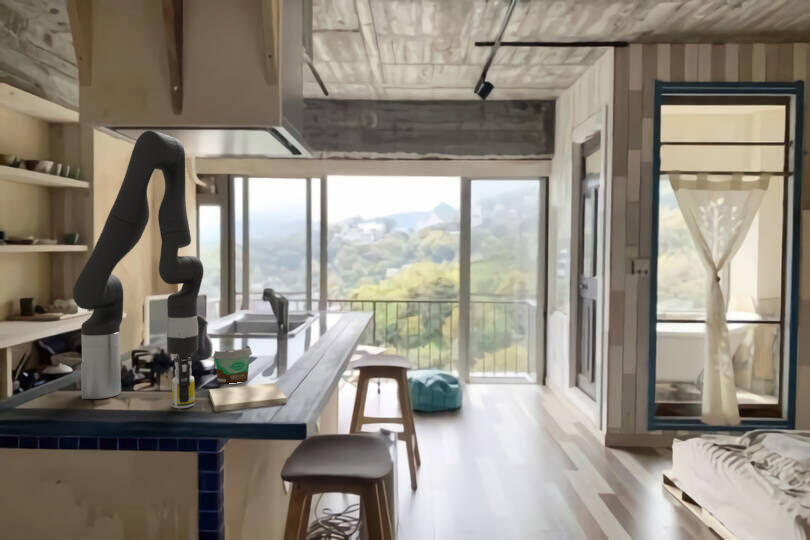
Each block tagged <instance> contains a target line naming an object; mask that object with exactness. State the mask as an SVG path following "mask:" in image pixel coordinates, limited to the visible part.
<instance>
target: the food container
mask: <svg viewBox="0 0 810 540" xmlns="http://www.w3.org/2000/svg"><path fill="white" fill-rule="evenodd" d="M252 354H253V352H252V348H251V346H249V345H247V344H246V345H245V348H240V349H229V350H227V351H217V350H215V351H214V353H213V359H215V369H216V376H217V378H216V379H217V384H218V383H221V384H220V385H224V384H229V383H237V382H244V383H246V382H247V381H248V378H249V366H250V356H252Z"/></svg>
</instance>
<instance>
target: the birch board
mask: <svg viewBox="0 0 810 540" xmlns="http://www.w3.org/2000/svg"><path fill="white" fill-rule="evenodd" d="M208 392H210V395H209V398H210V401H211V404H212V406H213V409H214V412H219V411H220V412H221V411H232V410H240V409H241V410H242V409H247V408H248V409H249V408H257V407H265V406H266V407H267V406H275V405H274V404H276V405H281V404H280V403H285V404H287V402H288V400H287V396H286V395H285V394H284V393H283V392H282V391H281V389H280V387H278V385H277V384H276V383H275V382H272V383H271V382H270V383H262V384H261V383H259V384H250V385H243V386H242V385H240V386H229V387H221V388H211V389H208Z"/></svg>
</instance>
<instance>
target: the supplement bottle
mask: <svg viewBox="0 0 810 540" xmlns="http://www.w3.org/2000/svg"><path fill="white" fill-rule="evenodd" d="M174 375H175V376H173V378H172V380H171V394H172V395H171V397H172V398H171V401H172V403H171V405H172V408H175V409H186V408H191V407H194V405H195V401H196V400H195V399H196V398H195V377H194V376H193V375H191V377H190V386H189V401H188V402H180V400H179V386H178V384H179V379H177V377H176V368H175V369H174ZM181 382H187V378H182V379H181Z"/></svg>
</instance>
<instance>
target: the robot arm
mask: <svg viewBox="0 0 810 540" xmlns="http://www.w3.org/2000/svg"><path fill="white" fill-rule="evenodd" d="M155 170H159V171H161V172H162V175H163V179H164V186H165V187H164V193H163V196H162V200H161V202H160V205H159V209H158V214H157V215H158V217H157V219H158V226H159V231H160V238H161V245H160V256H159V257H160V258H159V263H158V273H159V276H160V278H161V280H162V281H163V282H164V283H165V284H167V285H182V286H181V288H180V290H179V291H177V292H174V293H172V294H169V296H167V304H166V306H167V320H166V321H167V322H166V352H167V353H168V354H169V355H176V358H174V367H175V369H176V375H175V377H177V379H179V384H178V386H179V400H180V402H188V401H189V386H190V377H191V376H192V365H193V364H192V357H189V355H190V354H195V353H197V352H198V351H199V321H198V309H197V308H198V303H197V302H198V296H199V293H200V289H201V285H202V282H203V278H204V266H203V263H202V261H201V260H200V259H199V257H197V256H193V255H183V256H181V255H178V252H179V249H182V248H186V247H189V245H191V242H192V237H191V230H190V225H189V219H188V213H187V204H186V152H185V148H184V145H183V143H182V142H181V141H180V139H178V138H175V137H174V136H171V135H168V134H164V133H161V132H158V131H155V130H146V131H144V132H142V133H141V134H140V135H139V137H138V138H137V139H136V142H135V144H134V147H133V149H132V151H131V155H130V158H129V162H128V165H127V168H126V172H125V174H124V178H123V180H122V183H121V185H120V188H119V191H118V193H117V196H116V198H115V200H114V203H113V205H112V207H111V209H110V210H109V213H108V215H107V217H106V220H105V222H104V225H103V228H102V231H101V233H100V235H99V236H98V240H97V242H96V244H95V245H94V248H93V251H92V252H91V254H90V257H89V258H88V260H87V262H86V263H85V266H84V267H83V269H82V270H81V272H80V274H79V275H78V277H77V278H76V281H75V283H74V285H73V288H72V289H73V291H72V298H73V301H74V303H75V305H76V306H77V307H78V308H79V309H83V310H93V311H92V314H91V315H90V317H88V319H87V320H85V321H83V322H82V324H81V327H80V328H81V332H80V333H81V364H80V369H81V370H80V373H81V374H80V377H81V378H80V379H81V382H80V383H81V384H80V385H81V399H82V400H84V399H85V400H86V399H87V400H88V399H90V400H94V399H95V400H97V399H100V400H101V399H108V398H113V397H115V396H118V395H120V394H121V393H122V382H121V381H122V380H121V379H122V377H121V373H122V371H121V334H120V333H121V332H120V328H121V324H122V322H123V318H124V317H123V316H124V314H123V313H124V287H123V283H122V281H121V280H120V278H119V277H118V276H116V275H115V274H112V273H113V271H114V269H115V268H116V267H117V265H118V264H119V263H120V262H121V261H122V260H123V259H124V258H125V257H126V256H127V255H129V253H130V252H131V251H132V250H133V249H134V248H135V246H136V245H137V244H138V243H139V242H140V241H141V240H140V239H141V238H142V236H143V233H144V232H145V230H146V227H147V225H148V222H149V220H150V207H149V200H148V188H149V183H150V181H151V178H152V176H153V173H154V171H155ZM182 378H187V382H181V379H182Z"/></svg>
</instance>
